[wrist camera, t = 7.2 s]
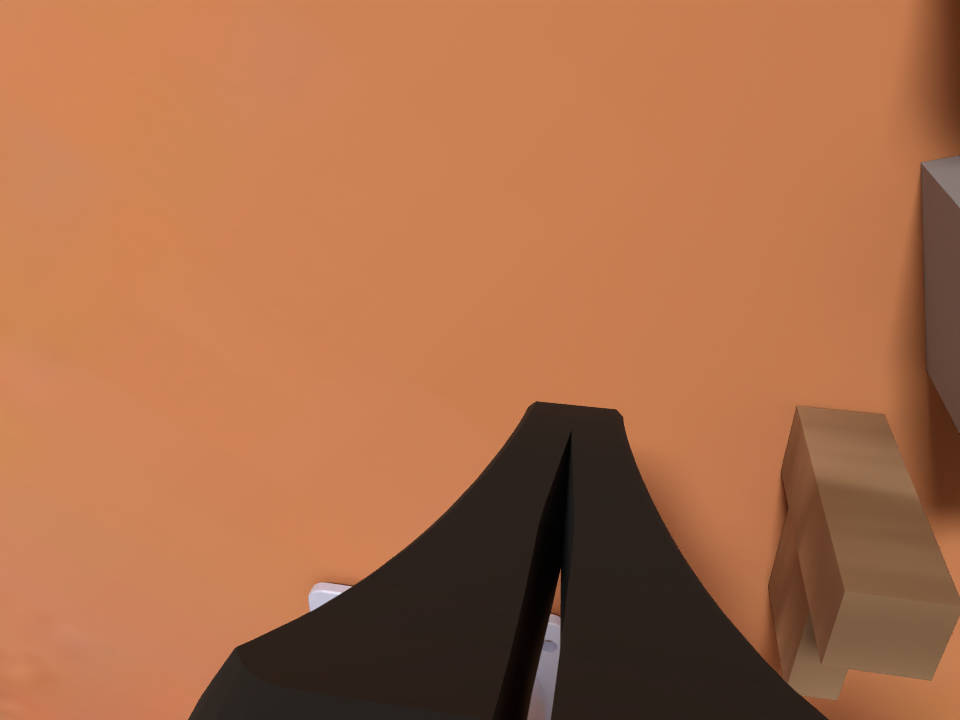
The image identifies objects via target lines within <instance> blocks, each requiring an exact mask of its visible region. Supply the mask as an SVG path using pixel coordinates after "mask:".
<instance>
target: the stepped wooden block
mask: <svg viewBox="0 0 960 720" xmlns="http://www.w3.org/2000/svg"><path fill="white" fill-rule="evenodd" d="M781 474H782V479H783V483H784V488H785V493H786V498H787V503H788V512H787V515H786V519H785V523H784V527H783V531H782V535H781V539H780V543H779V546H778V550H777V554H776V558H775V562H774V566H773V570H772V574H771V577H770V581H769V585H768V588H769V594H770V601H771V607H772V613H773V620H774V626H775V633H776V639H777V645H778V652H779V658H780V664H781V671H782V677H783V679H784V680H785V681H786V682H787V683H788V684H789V685H790V686H791V687H792V688H793V689H794V690H795V691H796V692H797V693H798V694H800V695H801V696H808V697H815V698H822V699H829V700H835V701H837V699H838V696H839V693H840V691H841V688H842V685H843V682H844V679H845V676H846V674H847V671H848V669H852V670H859V671H866V672H873V673H880V674H887V675H894V676H901V677H908V678H915V679H922V680H929V681H931V680H932V678H933V676H934V673H935V671H936V669H937V666H938V664H939V662H940V660H941V657H942V655H943V653H944V650H945V648H946V646H947V643H948V641H949V639H950V637H951V634H952V632H953V630H954V627H955V625H956V623H957V620H958V618H959V616H960V597H959V594H958V592H957V590H956V587H955V585H954V582H953V580H952V577H951V575H950V573H949V570H948V568H947V565H946V563H945V560H944V558H943V555H942V553H941V551H940V548H939V546H938V543H937V541H936V538H935V536H934V534H933V531H932V529H931V526H930V524H929V521H928V519H927V517H926V514H925V512H924V509H923V507H922V504H921V502H920V499H919V497H918V495H917V492H916V490H915V487H914V485H913V482H912V480H911V478H910V475H909V473H908V470H907V468H906V465H905V463H904V461H903V458H902V456H901V453H900V451H899V448H898V446H897V443H896V441H895V439H894V436H893V434H892V431H891V429H890V426H889V424H888V422H887V419H886V417H885V415H884V414H873V413H863V412H853V411H843V410H833V409H823V408H813V407H802V406H797V408H796V412H795V416H794V420H793V424H792V428H791V432H790V436H789V440H788V445H787V449H786V453H785V457H784V461H783V465H782V469H781Z"/></svg>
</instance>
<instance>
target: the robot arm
mask: <svg viewBox="0 0 960 720" xmlns="http://www.w3.org/2000/svg"><path fill="white" fill-rule="evenodd" d="M560 569H561V612H560V617H559V616H557V615H553V614H550V613H551V609H552V604H553V600H554V596H555V591H556V587H557V582H558V578H559V574H560ZM308 601H309V608H310V612H309V613H307V614H305V615H303V616H301V617H299V618H297V619H295V620H293V621H291V622H289V623H287V624H285V625H283V626H281V627H279V628H277V629H274V630H272V631H270V632H268V633H266V634H264V635H262V636H260V637H258V638H256V639H254V640H251V641H249V642H247V643H245V644H242V645H240V646H238V647H236V648H235V649H234V650H233V652H232V653H231V654H230V656H229V657H228V659H227V660H226V662H225V663H224V664H223V666H222V667H221V669H220V670H219V671H218V673H217V674H216V676H215V677H214V678H213V680H212V681H211V683H210V684H209V686H208V687H207V689H206V690H205V691H204V693H203V694H202V696H201V698H200V699H199V701H198V703H197V705H196V706H195V708H194V710H193V712H192V714H191V716H190V717H189V719H188V720H828V719H827V718H826V717H825V716H824V715H823V714H821V713H820V712H819V711H818V710H817V709H816V708H815V707H813V706H812V705H811V704H810V703H809V702H808V701H807V700H805V699H804V698H803V697H802V696H801V695H800V694H798V693H797V692H796V691H795V690H794V689H793V688H792V687H791V686H790V685H789V684H788V683H787V682H786V681H785V680H784V679H783V678H782V677H781V676H780V675H779V674H778V673H777V672H776V671H775V670H774V669H773V668H772V667H771V666H770V665H769V664H768V663H767V662H766V661H765V660H764V659H763V658H762V657H761V656H760V654H759V653H758V652H757V651H756V650H755V649H754V648H753V646H752V645H751V644H750V643H749V642H748V641H747V640H746V638H745V637H744V636H743V635H742V634H741V633H740V632H739V630H738V629H737V628H736V627H735V626H734V625H733V623H732V622H731V621H730V620H729V619H728V618H727V617H726V615H725V614H724V613H723V612H722V610H721V609H720V608H719V606H718V605H717V604H716V602H715V601H714V600H713V598H712V597H711V596H710V594H709V593H708V592H707V590H706V589H705V588H704V586H703V585H702V583H701V582H700V581H699V579H698V578H697V576H696V575H695V573H694V572H693V570H692V569H691V567H690V566H689V565H688V563H687V561H686V560H685V558H684V557H683V555H682V554H681V552H680V550H679V549H678V547H677V545H676V544H675V542H674V540H673V539H672V537H671V535H670V533H669V531H668V530H667V528H666V526H665V524H664V522H663V521H662V519H661V517H660V515H659V513H658V511H657V509H656V507H655V505H654V503H653V501H652V499H651V497H650V495H649V492H648V490H647V488H646V486H645V484H644V481H643V479H642V477H641V475H640V472H639V470H638V467H637V465H636V462H635V460H634V457H633V454H632V451H631V449H630V445H629V442H628V439H627V435H626V432H625V427H624V422H623V416H622V415H621V414H620V413H619V412H618V411H617V410H616V409H606V408H596V407H586V406H576V405H567V404H557V403H547V402H537V401H536V402H535V403H533V404H532V405H530V406H529V407H528V409H527V411H526V412H525V414H524V416H523V418H522V419H521V421H520V423H519V424H518V426H517V427H516V429H515V430H514V432H513V433H512V435H511V436H510V438H509V439H508V440H507V442H506V443H505V444H504V446H503V447H502V449H501V450H500V451H499V452H498V454H497V455H496V456H495V457H494V459H493V460H492V461H491V462H490V464H489V465H488V466H487V467H486V469H485V470H484V471H483V472H482V474H481V475H480V476H479V477H478V478H477V479H476V480H475V482H474V483H473V484H472V485H471V486H470V487H469V488H468V489H467V490H466V491H465V492H464V493H463V494H462V496H461V497H460V498H459V499H458V500H457V501H456V502H455V503H454V504H453V505H452V506H451V507H450V508H449V509H448V510H447V511H446V512H445V513H444V514H443V515H442V516H441V517H440V518H439V519H438V520H437V521H436V522H435V523H434V524H433V525H432V526H430V527H429V528H428V529H427V530H426V531H425V532H424V533H423V534H421V535H420V536H419V537H418V538H417V539H416V540H414V541H413V542H412V543H411V544H410V545H409V546H407V547H406V548H405V549H403V550H402V551H401V552H400V553H398V554H397V555H396V556H394V557H393V558H392V559H390V560H389V561H388V562H387V563H385V564H384V565H383V566H381V567H380V568H379V569H377V570H376V571H375V572H373V573H372V574H370V575H369V576H367V577H366V578H365V579H363V580H362V581H360V582H359V583H357V584H356V585H354V586H347V585H339V584H332V583H318V584H315V585H314V586H313V587H312V589H311V591H310V594H309V597H308ZM546 640H550V641H553V642H549V641H546Z"/></svg>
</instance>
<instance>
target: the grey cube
mask: <svg viewBox="0 0 960 720" xmlns="http://www.w3.org/2000/svg"><path fill="white" fill-rule="evenodd" d="M921 183H922V219H923V254H924V290H925V326H926V361H927V373H928V375H929V377H930V378H931V380H932V382H933V384H934V386H935V388H936V390H937V392H938V394H939V396H940V397H941V399H942V401H943V403H944V405H945V407H946V409H947V411H948V413H949V415H950V416H951V418H952V420H953V422H954V424H955V426H956V428H957V430H958V432H959V434H960V155H958V156H952V157H947V158H942V159H937V160H932V161H927V162H921Z"/></svg>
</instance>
